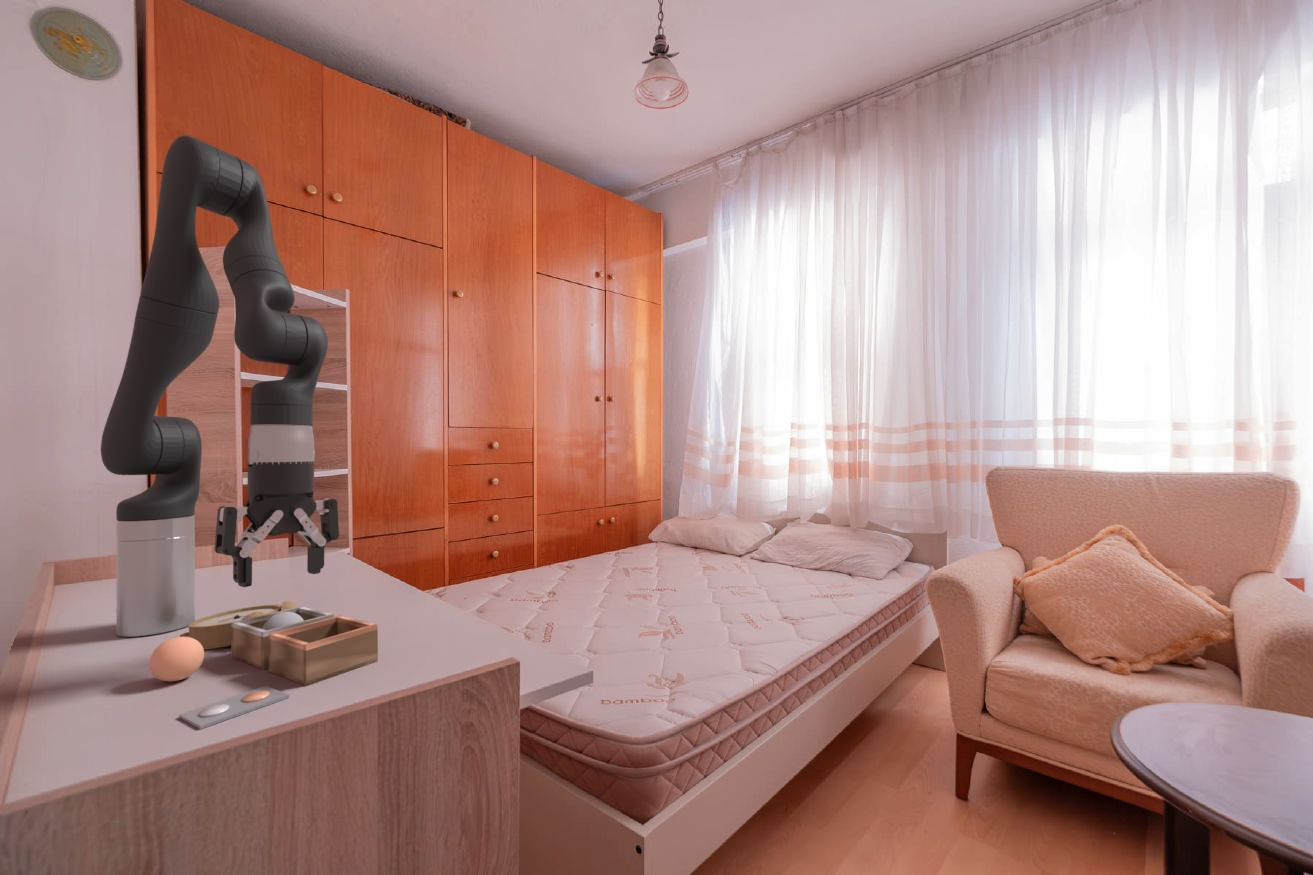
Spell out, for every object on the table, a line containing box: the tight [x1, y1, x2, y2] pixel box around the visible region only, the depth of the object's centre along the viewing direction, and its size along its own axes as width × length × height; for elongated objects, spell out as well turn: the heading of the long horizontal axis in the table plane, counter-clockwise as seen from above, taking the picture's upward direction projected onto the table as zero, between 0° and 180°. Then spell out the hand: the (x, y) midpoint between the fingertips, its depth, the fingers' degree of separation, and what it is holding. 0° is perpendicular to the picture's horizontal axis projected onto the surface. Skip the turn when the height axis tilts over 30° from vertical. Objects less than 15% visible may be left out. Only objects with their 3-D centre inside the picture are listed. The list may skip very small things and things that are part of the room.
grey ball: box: [262, 612, 304, 630], centre depth 76 cm, size 5×5×5 cm
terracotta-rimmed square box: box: [268, 615, 379, 687], centre depth 71 cm, size 9×9×5 cm
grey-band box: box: [230, 606, 335, 670], centre depth 76 cm, size 9×9×5 cm
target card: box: [178, 685, 290, 730], centre depth 60 cm, size 5×8×1 cm, turn 149°
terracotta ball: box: [148, 636, 205, 683], centre depth 67 cm, size 5×5×5 cm
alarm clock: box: [179, 600, 298, 650], centre depth 83 cm, size 11×5×15 cm
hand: (280, 579), depth 76 cm, fingers open, 8 cm apart
